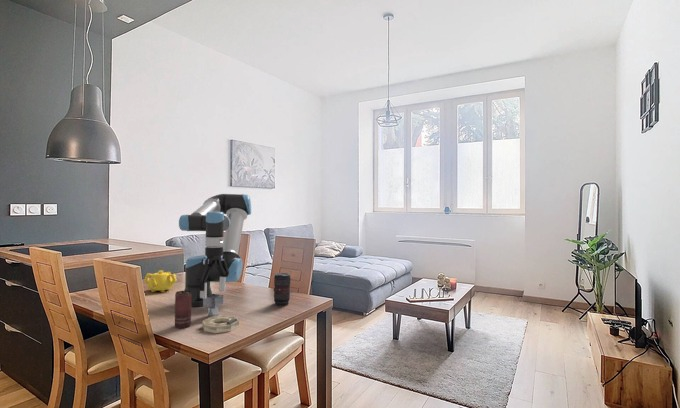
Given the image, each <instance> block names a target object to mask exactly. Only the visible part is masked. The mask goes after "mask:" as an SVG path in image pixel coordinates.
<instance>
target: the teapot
mask: <svg viewBox="0 0 680 408" xmlns="http://www.w3.org/2000/svg"><path fill="white" fill-rule="evenodd" d="M177 281H178V279H177V275H176V273H173V274H172V273H171V271H166V272H164V270H158V271H157V272H155V273H150V272H148V273H146V275H145V277H144V280H143V282H145V284H147V288H148V289H149V290H150V292H151V293H155V292H157V291H159V292H160V293H161V294H163V293H165V292H166V291H170V289H171V288H172V287H173V286H174V285H175V283H177Z"/></svg>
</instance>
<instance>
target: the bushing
mask: <svg viewBox="0 0 680 408" xmlns="http://www.w3.org/2000/svg"><path fill="white" fill-rule="evenodd" d="M223 304H224V294H217V293H212V294H210V295H207V297H206V299H204V298H203V306H202V307H207V318H210V317H214V316H219V306H221V305H223Z"/></svg>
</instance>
